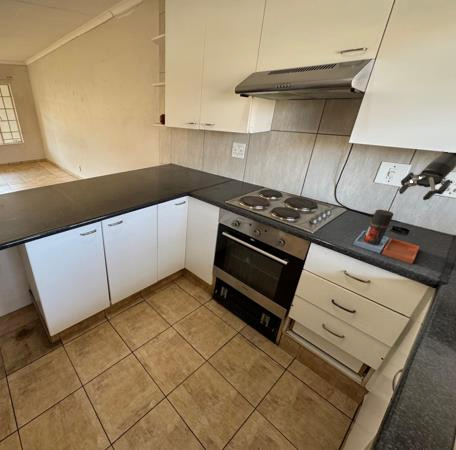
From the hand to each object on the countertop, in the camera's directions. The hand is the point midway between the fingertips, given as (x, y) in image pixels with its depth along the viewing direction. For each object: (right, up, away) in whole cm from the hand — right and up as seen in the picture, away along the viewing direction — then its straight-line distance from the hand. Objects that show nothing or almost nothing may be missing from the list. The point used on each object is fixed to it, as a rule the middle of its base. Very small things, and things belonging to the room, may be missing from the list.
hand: (411, 195), depth 108 cm
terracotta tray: (-6, -25, -1) cm, 25 cm away
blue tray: (-13, -21, +6) cm, 25 cm away
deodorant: (-12, -21, +6) cm, 25 cm away
